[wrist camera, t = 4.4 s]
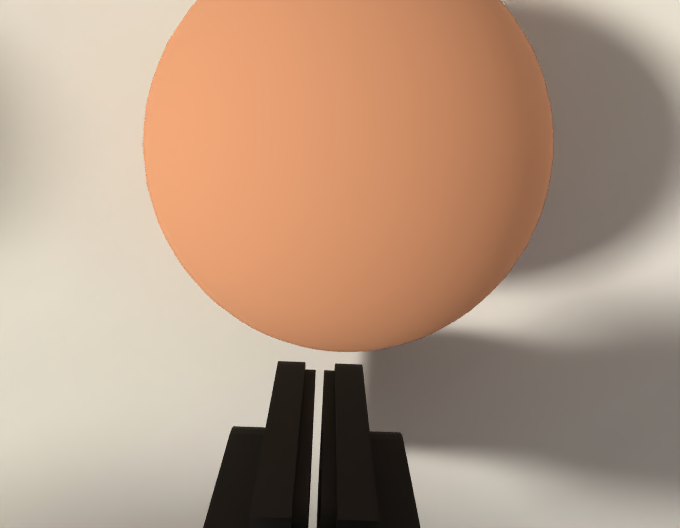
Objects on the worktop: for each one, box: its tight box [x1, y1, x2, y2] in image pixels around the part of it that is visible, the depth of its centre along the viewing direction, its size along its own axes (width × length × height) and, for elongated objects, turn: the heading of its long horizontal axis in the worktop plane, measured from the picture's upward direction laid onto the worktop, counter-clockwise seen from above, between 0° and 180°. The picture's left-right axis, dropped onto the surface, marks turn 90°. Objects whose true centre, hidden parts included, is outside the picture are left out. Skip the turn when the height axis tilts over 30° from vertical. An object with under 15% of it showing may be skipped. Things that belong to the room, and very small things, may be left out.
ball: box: [143, 0, 554, 352], centre depth 8 cm, size 6×6×6 cm
